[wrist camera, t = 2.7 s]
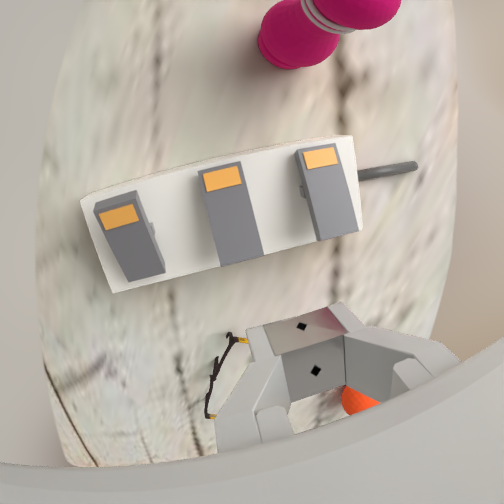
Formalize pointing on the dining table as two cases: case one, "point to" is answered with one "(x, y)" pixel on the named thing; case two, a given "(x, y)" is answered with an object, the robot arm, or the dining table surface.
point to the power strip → (195, 214)
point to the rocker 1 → (130, 236)
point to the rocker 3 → (326, 191)
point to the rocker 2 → (230, 213)
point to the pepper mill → (316, 28)
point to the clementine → (356, 401)
